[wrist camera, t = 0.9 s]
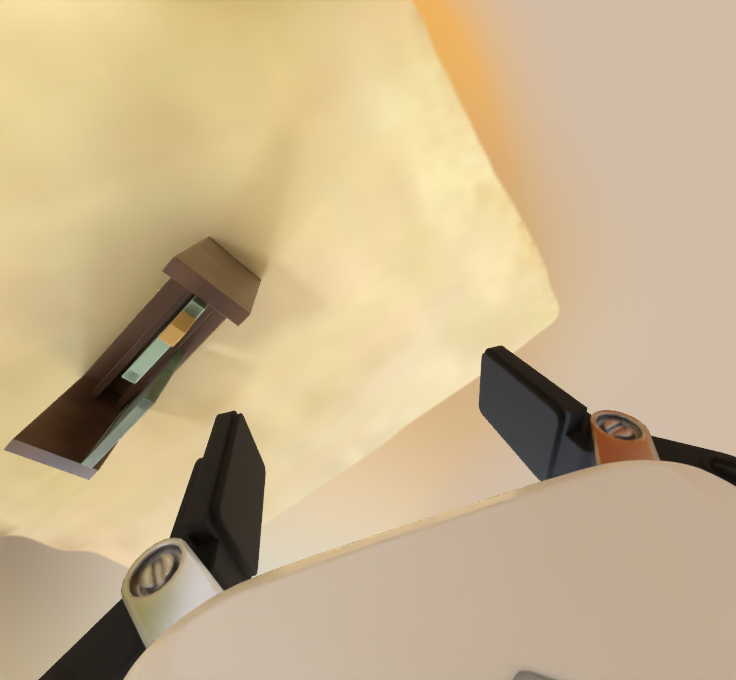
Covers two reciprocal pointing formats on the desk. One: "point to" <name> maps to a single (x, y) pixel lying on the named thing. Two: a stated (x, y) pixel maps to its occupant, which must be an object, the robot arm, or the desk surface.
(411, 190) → the desk surface
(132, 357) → the window frame
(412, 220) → the desk surface
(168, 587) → the robot arm
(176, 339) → the sliding pane
